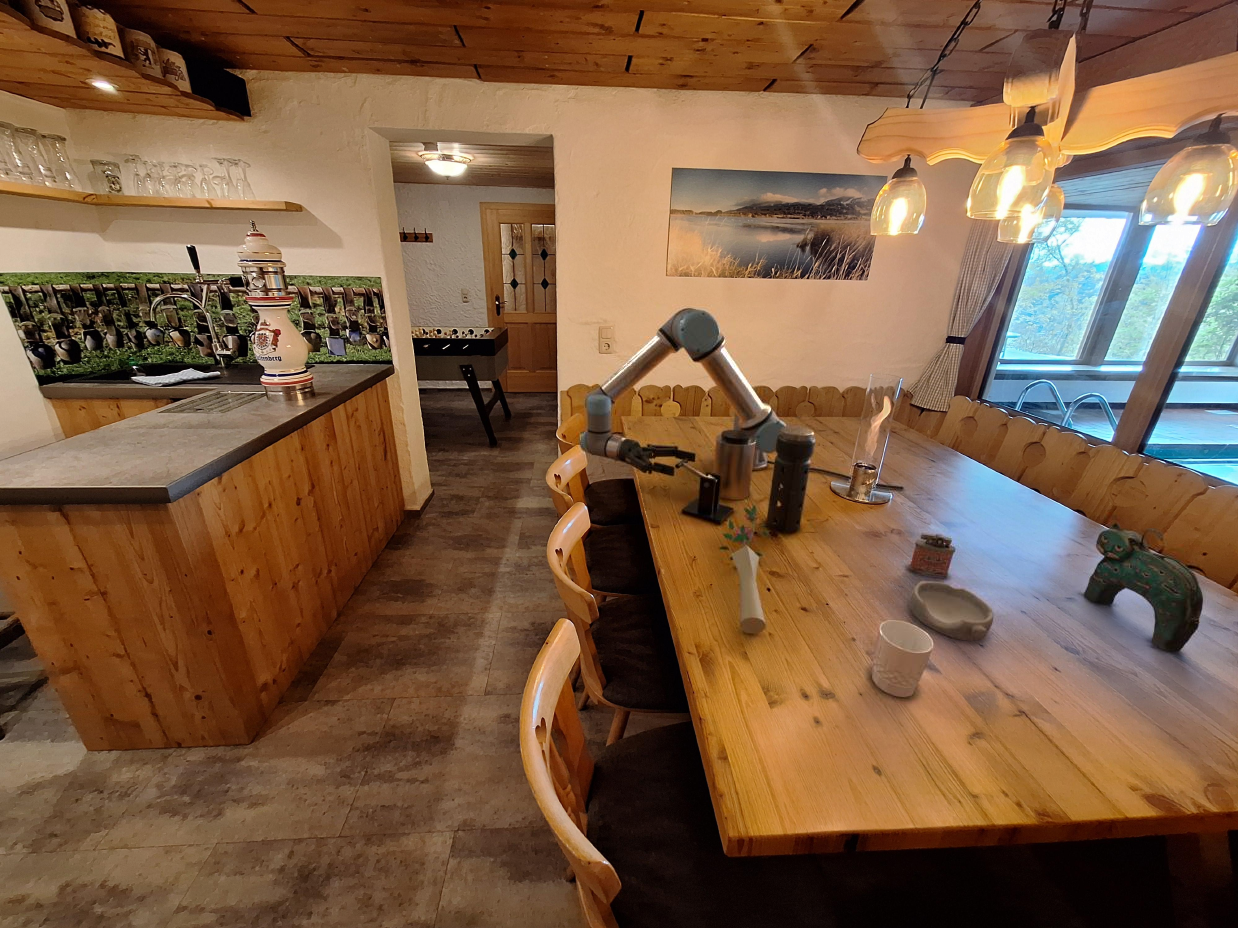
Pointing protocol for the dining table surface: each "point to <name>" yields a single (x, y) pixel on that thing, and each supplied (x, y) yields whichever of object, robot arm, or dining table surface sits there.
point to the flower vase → (747, 575)
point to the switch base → (709, 501)
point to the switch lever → (691, 468)
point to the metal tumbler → (734, 463)
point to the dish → (951, 610)
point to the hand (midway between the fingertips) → (684, 464)
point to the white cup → (900, 657)
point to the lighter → (932, 556)
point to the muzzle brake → (790, 478)
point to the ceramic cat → (1148, 584)
